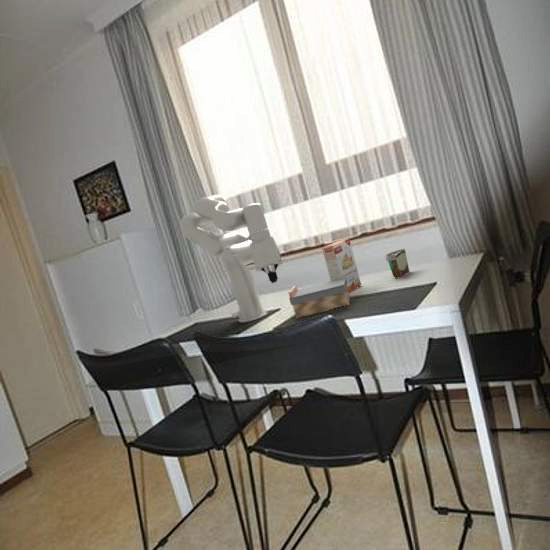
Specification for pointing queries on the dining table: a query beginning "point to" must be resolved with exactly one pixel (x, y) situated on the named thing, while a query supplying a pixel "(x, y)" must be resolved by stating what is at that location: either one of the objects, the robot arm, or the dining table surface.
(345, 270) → the cracker box
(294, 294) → the lid
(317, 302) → the box
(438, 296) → the dining table surface
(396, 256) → the food container
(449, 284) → the dining table surface
